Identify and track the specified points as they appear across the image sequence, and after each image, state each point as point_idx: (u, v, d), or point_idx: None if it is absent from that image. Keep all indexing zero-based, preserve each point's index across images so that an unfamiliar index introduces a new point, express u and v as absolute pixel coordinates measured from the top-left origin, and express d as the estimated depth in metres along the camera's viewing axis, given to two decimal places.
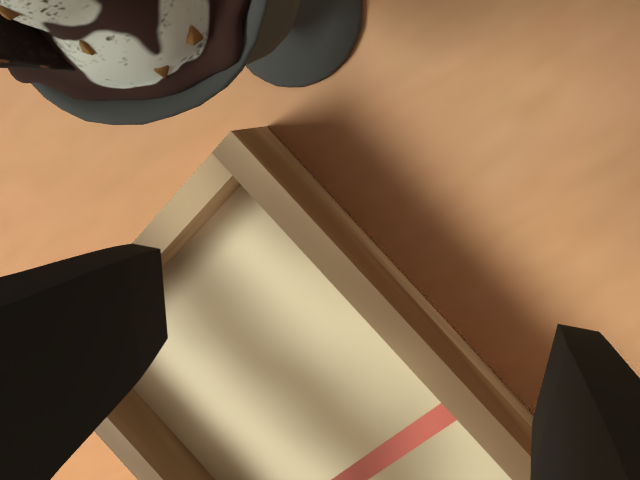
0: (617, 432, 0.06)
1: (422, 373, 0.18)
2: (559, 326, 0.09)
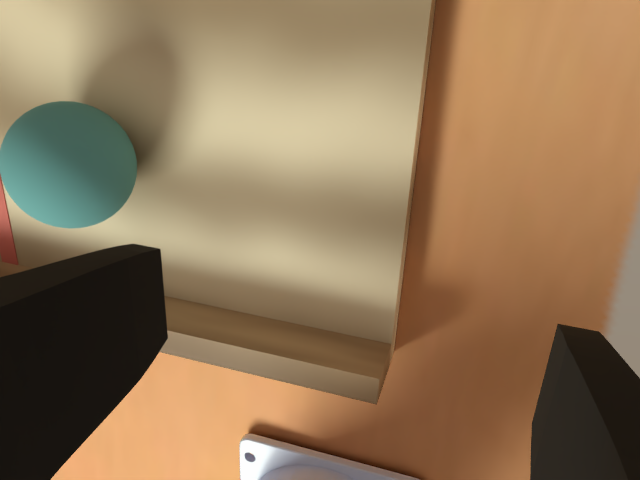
0: (617, 432, 0.06)
1: None
2: (559, 326, 0.09)
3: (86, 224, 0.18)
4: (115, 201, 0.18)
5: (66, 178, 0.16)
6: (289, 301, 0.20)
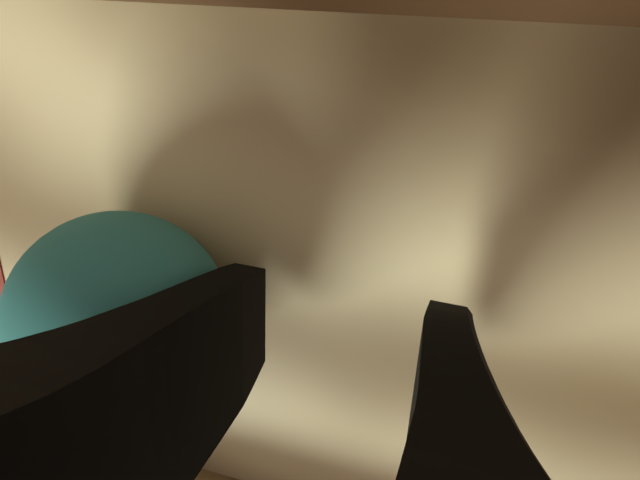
0: (426, 388, 0.06)
1: None
2: (430, 301, 0.09)
3: None
4: None
5: None
6: None
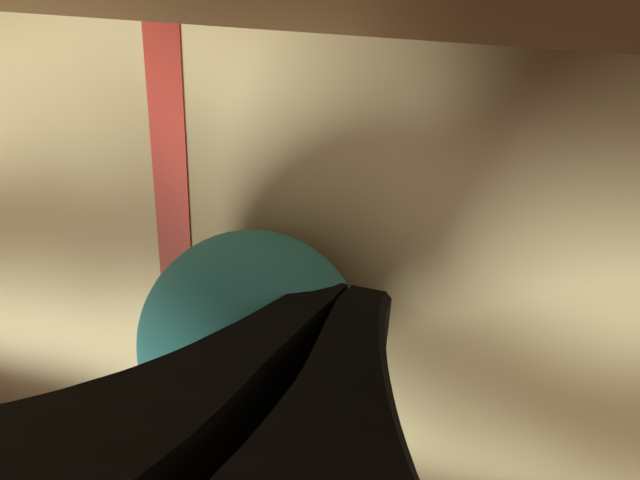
0: (314, 362, 0.07)
1: None
2: (350, 286, 0.10)
3: None
4: None
5: (139, 343, 0.09)
6: None
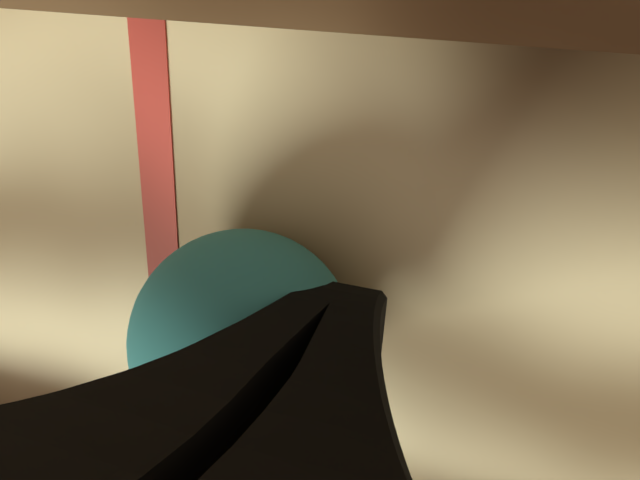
0: (308, 361, 0.07)
1: None
2: (346, 285, 0.10)
3: None
4: None
5: (131, 347, 0.09)
6: None
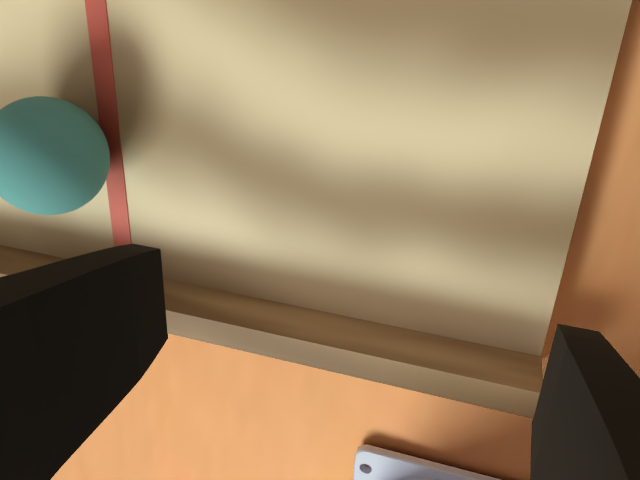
0: (617, 431, 0.06)
1: None
2: (559, 326, 0.09)
3: None
4: None
5: None
6: (432, 312, 0.19)
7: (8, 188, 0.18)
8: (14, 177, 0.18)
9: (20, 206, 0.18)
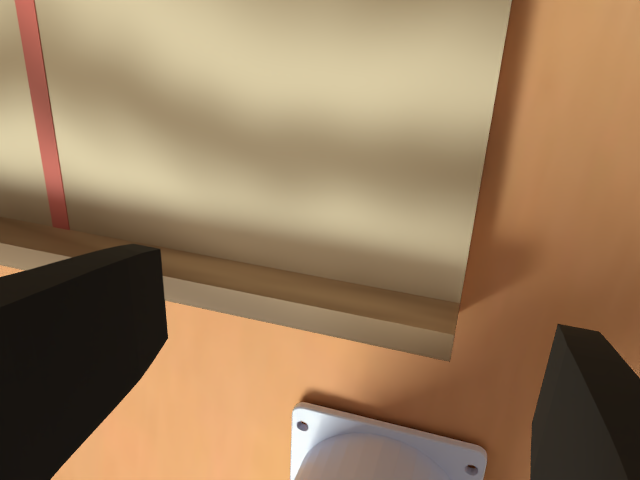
0: (617, 432, 0.06)
1: None
2: (559, 326, 0.09)
3: None
4: None
5: None
6: (354, 261, 0.20)
7: None
8: None
9: None
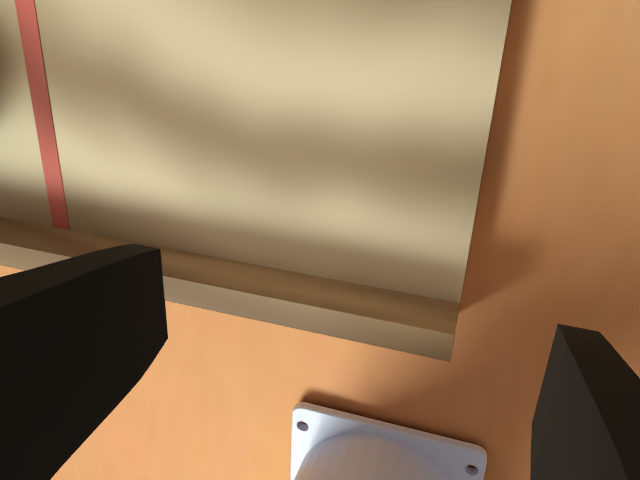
0: (617, 432, 0.06)
1: None
2: (559, 326, 0.09)
3: None
4: None
5: None
6: (354, 261, 0.20)
7: None
8: None
9: None
